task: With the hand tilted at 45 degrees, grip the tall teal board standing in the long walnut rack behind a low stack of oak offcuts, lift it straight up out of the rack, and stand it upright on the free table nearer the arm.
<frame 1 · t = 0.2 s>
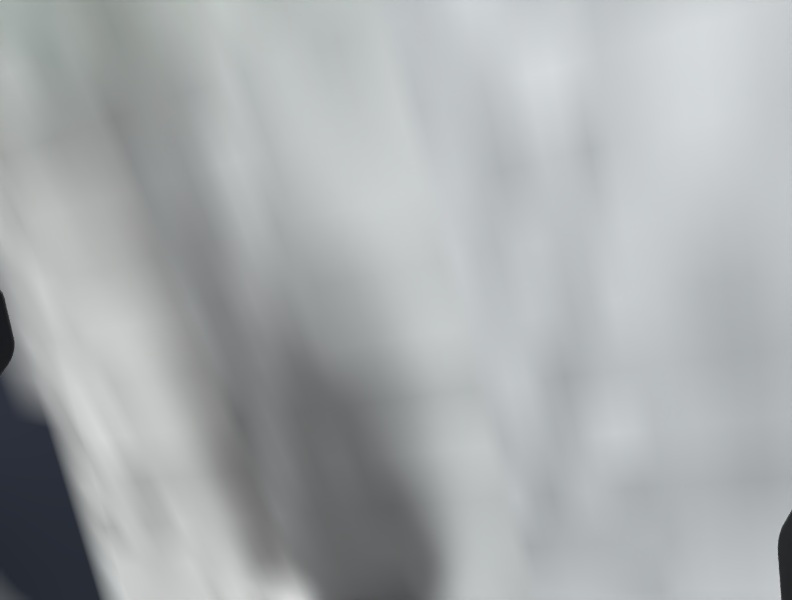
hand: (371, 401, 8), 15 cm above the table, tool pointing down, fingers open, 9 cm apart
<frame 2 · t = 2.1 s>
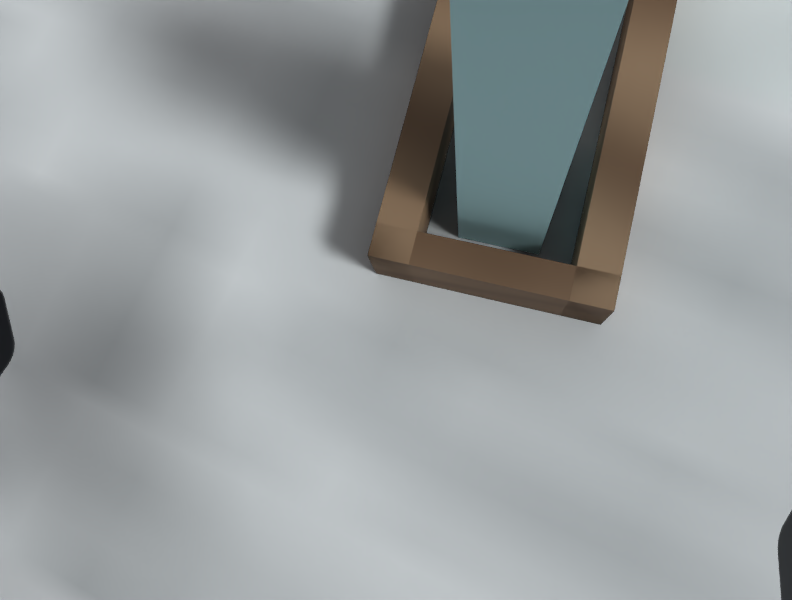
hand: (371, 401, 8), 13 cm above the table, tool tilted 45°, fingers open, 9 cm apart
walnut rack: (512, 185, 22), on the table
teal board: (512, 185, 22), resting in walnut rack
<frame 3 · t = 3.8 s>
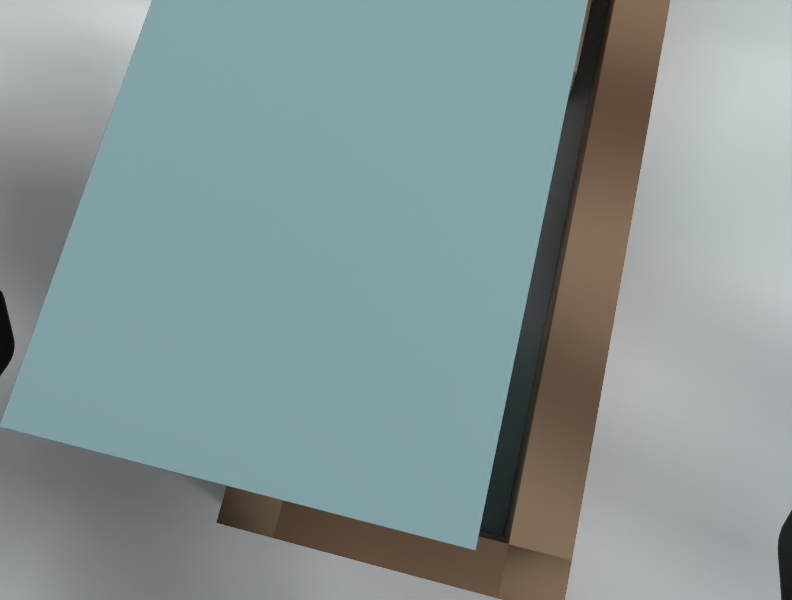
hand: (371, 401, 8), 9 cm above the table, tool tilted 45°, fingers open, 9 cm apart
oak offcuts: (519, 9, 19), resting in walnut rack
walnut rack: (430, 392, 16), on the table
teal board: (430, 392, 16), resting in walnut rack
when the fingers open (8 cm above the table, at t = 10.3 s): teal board drops 1 cm, on the table.
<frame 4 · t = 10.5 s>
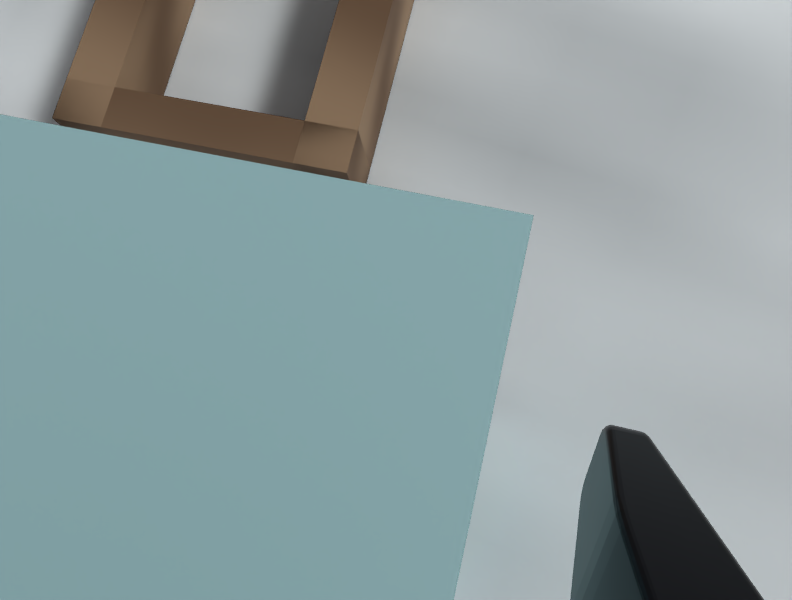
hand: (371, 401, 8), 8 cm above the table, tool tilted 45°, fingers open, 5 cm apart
walnut rack: (265, 48, 18), on the table
teal board: (401, 498, 15), on the table
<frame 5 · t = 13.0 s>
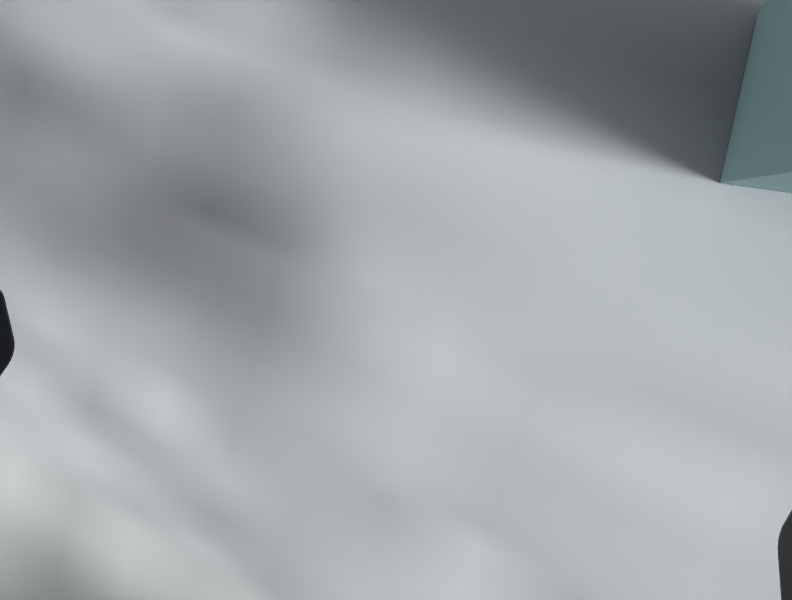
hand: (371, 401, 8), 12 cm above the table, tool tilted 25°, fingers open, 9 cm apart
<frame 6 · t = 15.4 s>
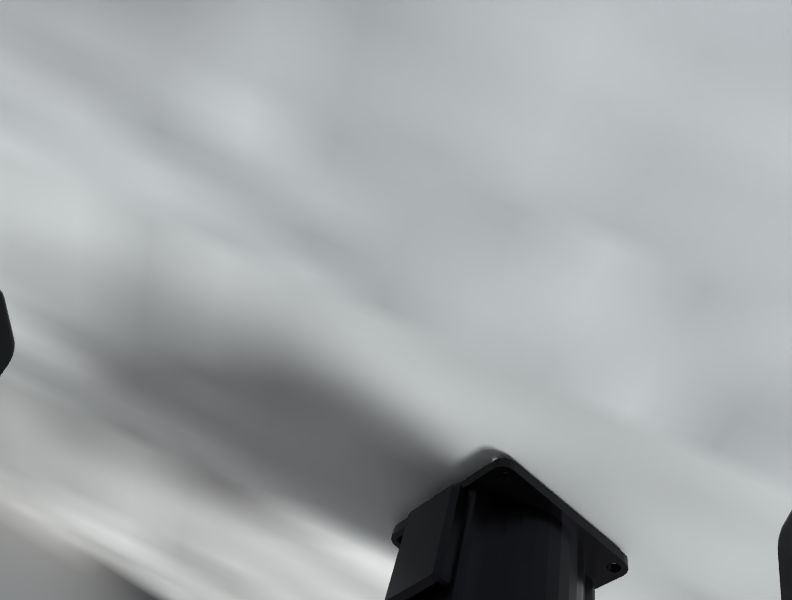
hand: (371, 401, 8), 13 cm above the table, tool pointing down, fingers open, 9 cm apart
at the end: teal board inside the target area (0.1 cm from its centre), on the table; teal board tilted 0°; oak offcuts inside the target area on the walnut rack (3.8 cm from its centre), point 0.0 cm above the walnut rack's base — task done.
